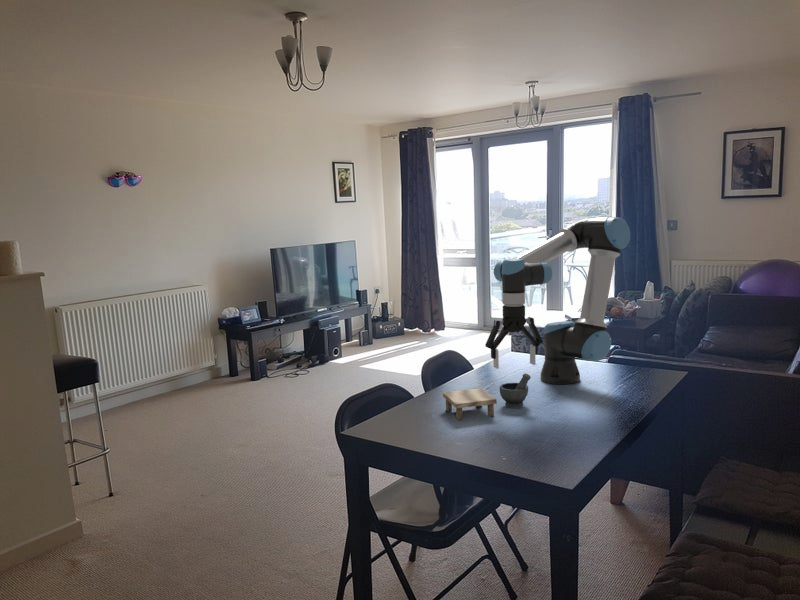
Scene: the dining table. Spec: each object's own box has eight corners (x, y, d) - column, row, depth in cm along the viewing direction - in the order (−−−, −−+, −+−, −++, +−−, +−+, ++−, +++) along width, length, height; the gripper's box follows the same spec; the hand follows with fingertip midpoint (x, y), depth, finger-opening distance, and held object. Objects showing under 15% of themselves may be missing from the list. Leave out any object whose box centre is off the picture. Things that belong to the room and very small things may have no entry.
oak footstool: (481, 404, 210) (480, 388, 209) (496, 416, 197) (496, 399, 196) (443, 409, 207) (442, 392, 206) (456, 421, 194) (456, 404, 193)
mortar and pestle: (495, 406, 207) (494, 373, 205) (508, 400, 214) (507, 367, 213) (524, 412, 200) (523, 377, 198) (537, 405, 207) (536, 371, 205)
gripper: (542, 301, 209) (542, 360, 211) (475, 305, 203) (476, 366, 206) (552, 303, 201) (552, 364, 204) (483, 308, 196) (484, 371, 198)
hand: (514, 366), depth 205 cm, fingers open, 13 cm apart
